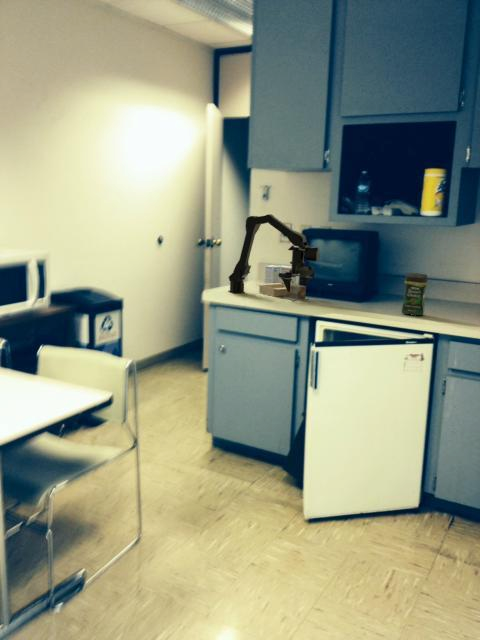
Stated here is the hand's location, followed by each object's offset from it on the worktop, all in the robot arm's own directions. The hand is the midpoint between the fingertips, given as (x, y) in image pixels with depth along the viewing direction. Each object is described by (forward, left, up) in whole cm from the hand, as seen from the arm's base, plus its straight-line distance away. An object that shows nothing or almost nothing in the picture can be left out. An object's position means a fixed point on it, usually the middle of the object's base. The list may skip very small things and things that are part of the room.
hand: (295, 291), depth 307 cm
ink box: (+19, +30, -4) cm, 36 cm away
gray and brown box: (0, 0, -3) cm, 3 cm away
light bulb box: (+20, +43, -4) cm, 48 cm away
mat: (0, 0, -4) cm, 4 cm away
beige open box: (+1, +15, -4) cm, 16 cm away
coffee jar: (+23, -54, -4) cm, 59 cm away
